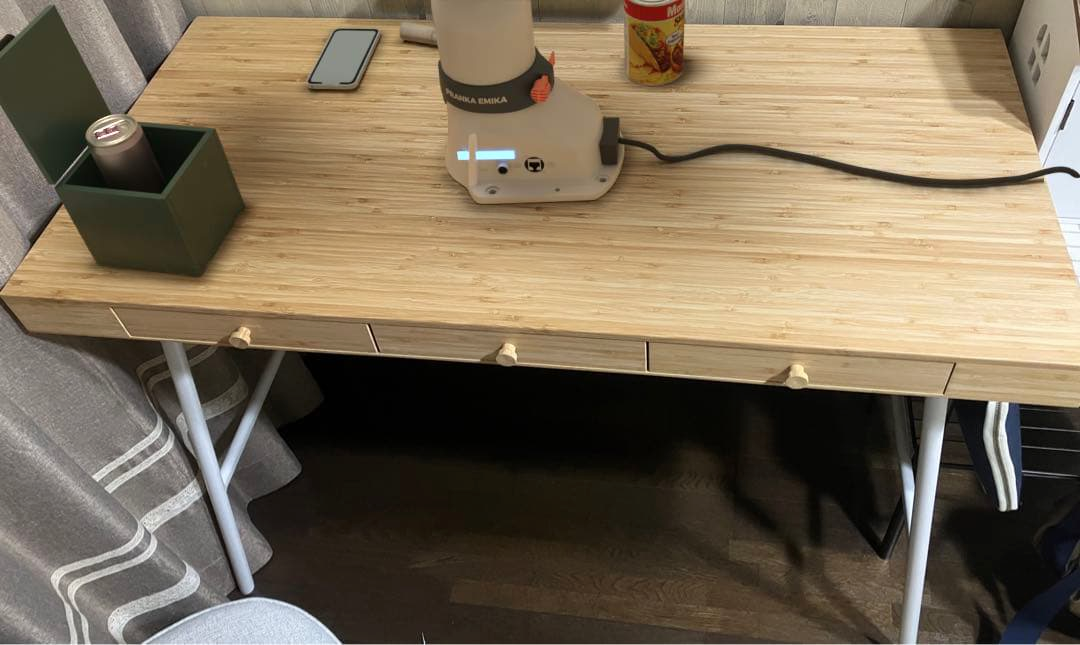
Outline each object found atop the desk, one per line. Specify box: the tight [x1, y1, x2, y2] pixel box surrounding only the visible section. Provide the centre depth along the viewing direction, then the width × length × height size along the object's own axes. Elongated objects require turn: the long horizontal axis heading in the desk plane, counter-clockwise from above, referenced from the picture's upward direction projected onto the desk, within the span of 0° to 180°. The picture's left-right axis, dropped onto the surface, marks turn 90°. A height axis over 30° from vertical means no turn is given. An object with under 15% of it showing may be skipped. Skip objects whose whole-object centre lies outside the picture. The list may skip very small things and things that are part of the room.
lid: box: [0, 4, 113, 186], centre depth 110 cm, size 14×13×5 cm
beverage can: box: [85, 113, 167, 194], centre depth 116 cm, size 6×6×15 cm
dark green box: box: [53, 121, 246, 278], centre depth 118 cm, size 14×13×12 cm
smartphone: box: [306, 27, 382, 90], centre depth 144 cm, size 7×1×15 cm
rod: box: [399, 20, 438, 46], centre depth 145 cm, size 12×3×3 cm, turn 67°
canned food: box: [622, 0, 686, 87], centre depth 133 cm, size 8×8×12 cm
